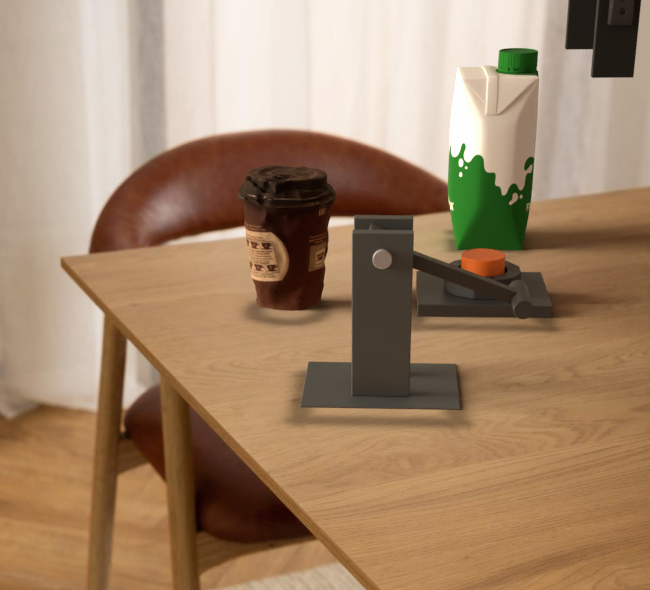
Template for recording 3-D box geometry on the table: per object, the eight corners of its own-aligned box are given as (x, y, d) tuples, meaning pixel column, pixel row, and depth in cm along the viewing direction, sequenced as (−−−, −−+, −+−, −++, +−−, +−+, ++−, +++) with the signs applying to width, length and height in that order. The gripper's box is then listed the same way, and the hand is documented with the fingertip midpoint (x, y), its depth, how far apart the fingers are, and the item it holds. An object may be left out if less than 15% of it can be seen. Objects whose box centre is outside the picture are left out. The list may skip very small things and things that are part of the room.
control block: (539, 293, 115) (542, 253, 113) (550, 329, 106) (554, 286, 104) (415, 292, 116) (416, 252, 114) (416, 327, 107) (418, 285, 105)
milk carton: (532, 253, 127) (547, 56, 118) (447, 252, 127) (456, 56, 118) (523, 230, 135) (536, 44, 125) (443, 230, 135) (451, 45, 126)
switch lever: (519, 305, 91) (532, 277, 90) (525, 328, 87) (539, 298, 86) (360, 246, 90) (371, 217, 89) (358, 266, 85) (370, 236, 84)
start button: (502, 266, 111) (503, 248, 110) (505, 279, 107) (507, 261, 106) (459, 266, 111) (460, 248, 110) (461, 279, 108) (462, 260, 107)
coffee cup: (271, 333, 106) (267, 187, 100) (225, 307, 112) (219, 169, 106) (351, 314, 110) (352, 173, 104) (303, 291, 116) (301, 157, 110)
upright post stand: (455, 377, 96) (463, 208, 90) (459, 423, 88) (468, 242, 82) (308, 374, 97) (305, 207, 91) (300, 420, 89) (296, 240, 83)
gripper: (737, -319, 64) (687, 90, 74) (649, -272, 86) (620, 38, 96) (597, -316, 64) (565, 91, 74) (545, -270, 86) (526, 39, 96)
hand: (596, 62), depth 85 cm, fingers open, 13 cm apart
